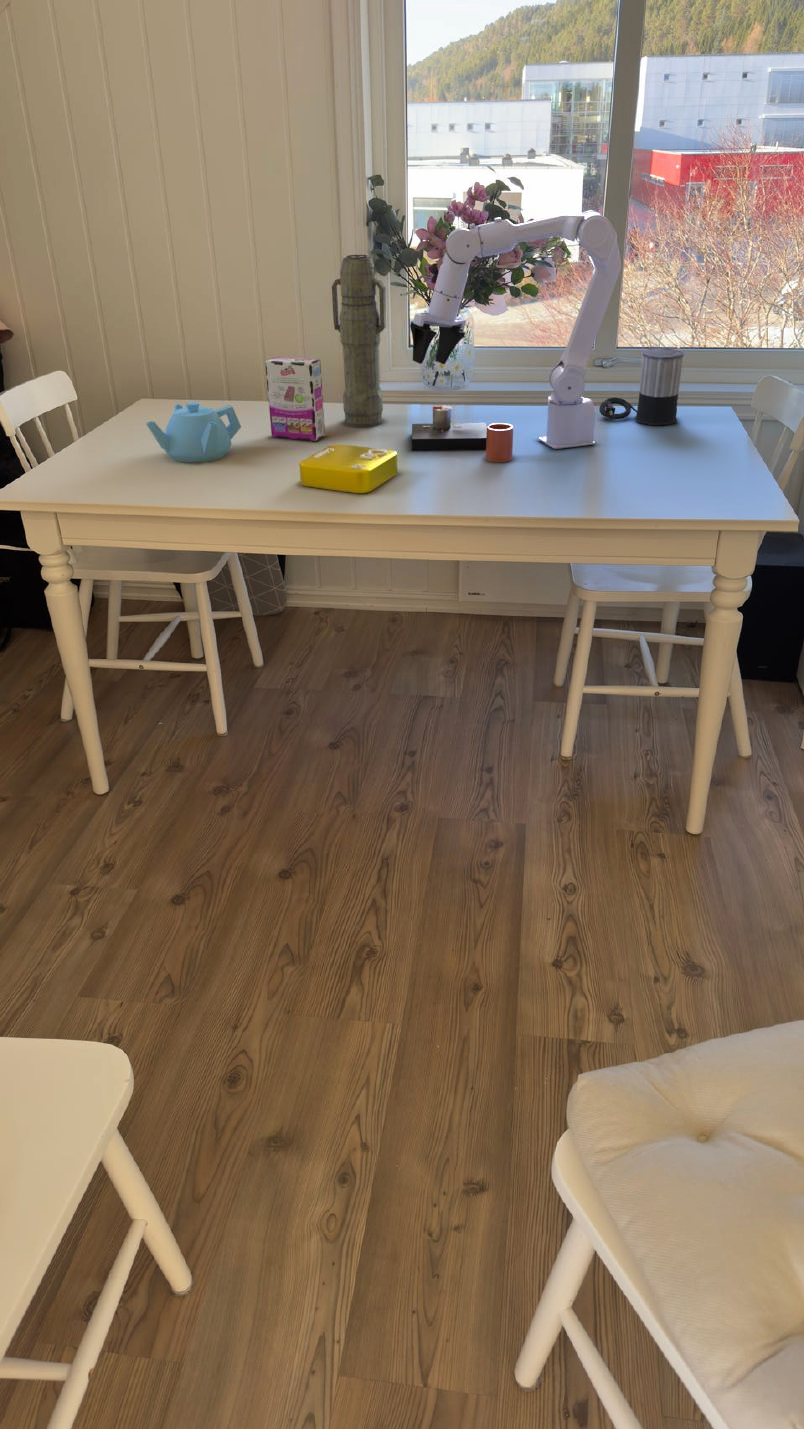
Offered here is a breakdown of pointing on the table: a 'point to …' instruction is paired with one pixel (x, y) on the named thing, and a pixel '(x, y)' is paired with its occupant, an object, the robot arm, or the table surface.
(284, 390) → the candy bar box
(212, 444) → the teapot
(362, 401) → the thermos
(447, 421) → the dial
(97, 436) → the table surface
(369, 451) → the element tile
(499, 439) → the orange stave barrel
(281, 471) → the table surface
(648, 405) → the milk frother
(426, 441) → the warming plate
